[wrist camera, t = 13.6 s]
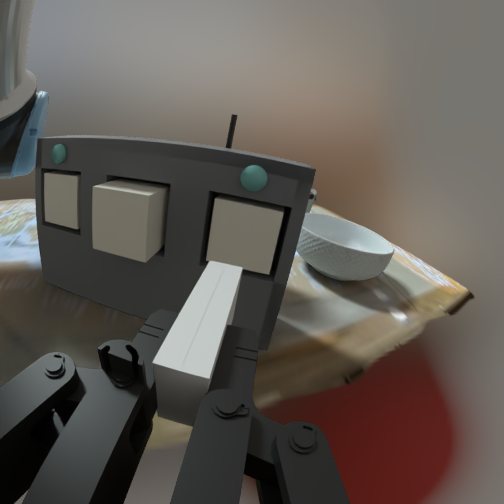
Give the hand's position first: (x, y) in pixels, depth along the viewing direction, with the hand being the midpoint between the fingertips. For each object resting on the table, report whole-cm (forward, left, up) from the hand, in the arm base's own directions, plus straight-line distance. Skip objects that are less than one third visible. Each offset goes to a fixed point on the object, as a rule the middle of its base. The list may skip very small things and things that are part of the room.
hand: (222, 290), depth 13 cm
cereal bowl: (+19, +28, -10) cm, 35 cm away
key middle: (-8, +9, -3) cm, 12 cm away
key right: (+2, +10, -3) cm, 11 cm away
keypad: (-7, +13, -10) cm, 18 cm away
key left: (-16, +13, -3) cm, 21 cm away
